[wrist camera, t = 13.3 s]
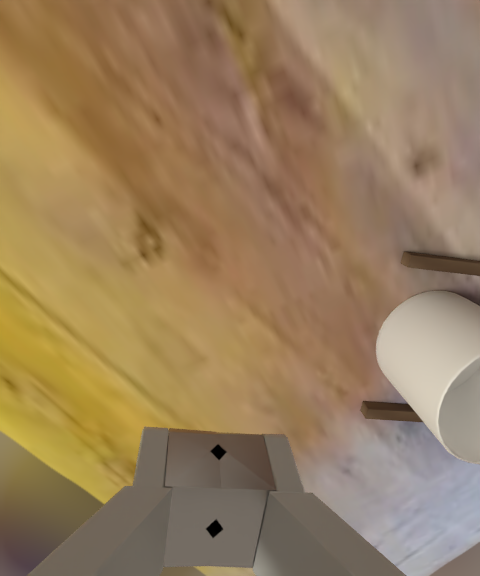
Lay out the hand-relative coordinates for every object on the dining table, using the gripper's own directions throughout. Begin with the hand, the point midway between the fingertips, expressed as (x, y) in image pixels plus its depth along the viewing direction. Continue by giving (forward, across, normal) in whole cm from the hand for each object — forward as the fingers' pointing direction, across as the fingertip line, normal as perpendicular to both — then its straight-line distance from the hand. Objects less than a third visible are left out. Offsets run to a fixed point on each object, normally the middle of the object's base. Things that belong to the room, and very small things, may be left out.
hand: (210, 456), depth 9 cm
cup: (+31, -26, +10) cm, 42 cm away
